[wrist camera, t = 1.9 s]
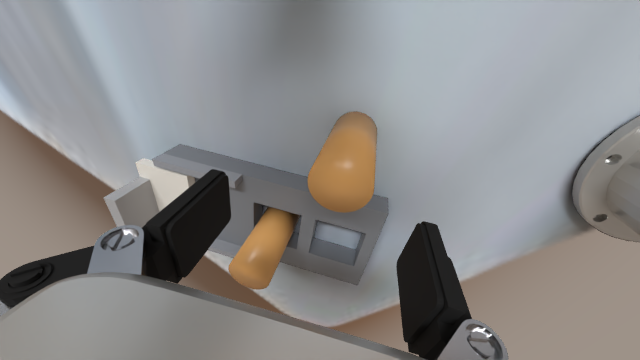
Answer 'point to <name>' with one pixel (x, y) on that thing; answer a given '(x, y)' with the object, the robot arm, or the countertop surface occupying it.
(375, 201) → the housing
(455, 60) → the countertop surface
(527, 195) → the countertop surface
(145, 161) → the lid
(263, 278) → the orange rounded capsule
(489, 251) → the countertop surface
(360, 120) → the orange rounded peg
